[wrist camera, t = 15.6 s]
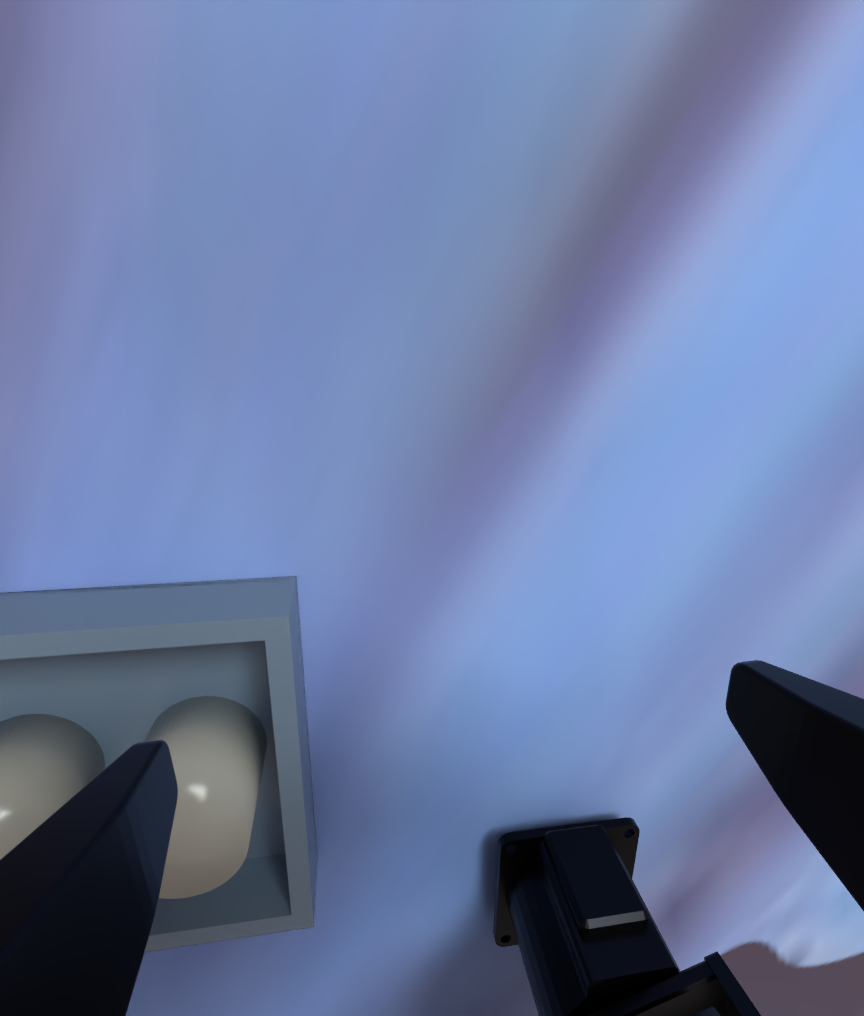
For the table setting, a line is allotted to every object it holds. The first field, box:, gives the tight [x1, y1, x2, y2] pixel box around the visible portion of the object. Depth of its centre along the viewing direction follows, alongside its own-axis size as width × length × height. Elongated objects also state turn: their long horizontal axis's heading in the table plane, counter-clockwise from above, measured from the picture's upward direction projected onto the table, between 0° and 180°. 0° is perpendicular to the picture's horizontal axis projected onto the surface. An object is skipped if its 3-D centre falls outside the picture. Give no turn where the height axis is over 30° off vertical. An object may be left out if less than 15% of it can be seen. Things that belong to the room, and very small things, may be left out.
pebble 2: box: [144, 696, 267, 899], centre depth 19 cm, size 4×4×4 cm
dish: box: [0, 576, 317, 952], centre depth 20 cm, size 14×14×3 cm
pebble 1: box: [0, 714, 105, 859], centre depth 19 cm, size 4×4×4 cm
